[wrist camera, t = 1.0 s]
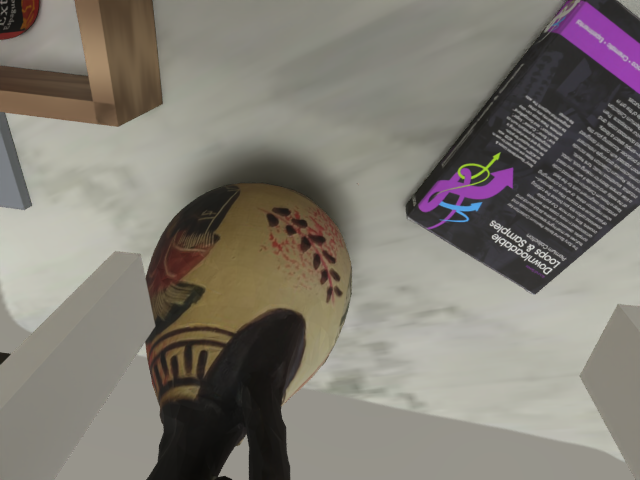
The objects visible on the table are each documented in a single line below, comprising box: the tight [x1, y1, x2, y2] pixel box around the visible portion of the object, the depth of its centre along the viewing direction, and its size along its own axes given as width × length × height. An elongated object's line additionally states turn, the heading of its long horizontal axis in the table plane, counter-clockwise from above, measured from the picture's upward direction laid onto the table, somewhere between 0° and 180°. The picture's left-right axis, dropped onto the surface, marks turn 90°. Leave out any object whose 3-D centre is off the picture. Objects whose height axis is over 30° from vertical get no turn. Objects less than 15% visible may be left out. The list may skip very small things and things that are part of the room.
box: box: [406, 0, 640, 295], centre depth 32 cm, size 14×4×20 cm
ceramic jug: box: [145, 183, 359, 480], centre depth 27 cm, size 17×15×30 cm
